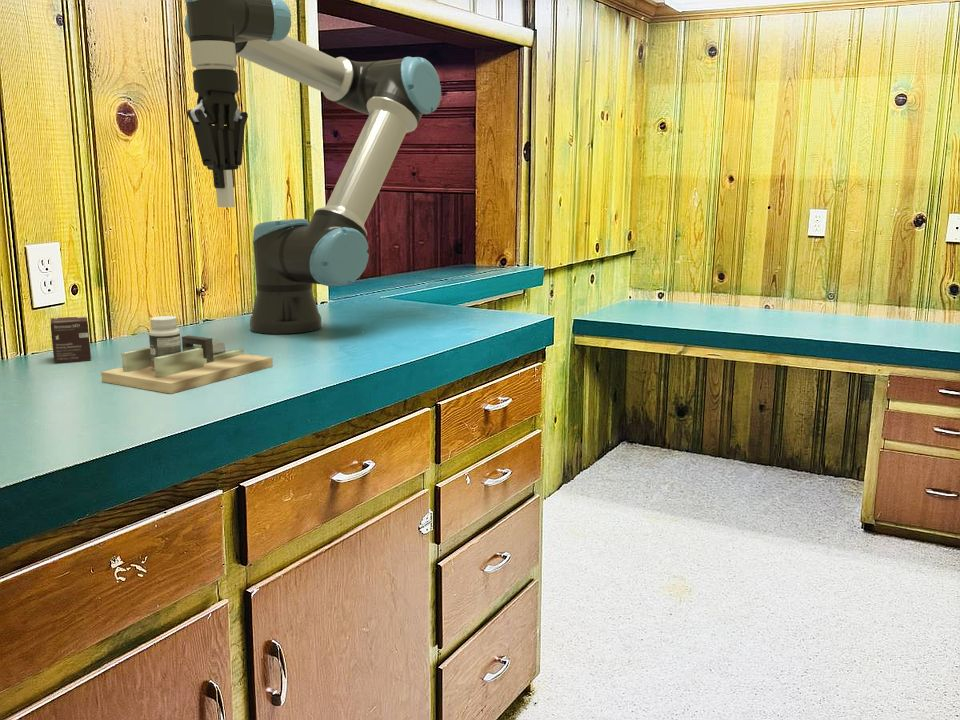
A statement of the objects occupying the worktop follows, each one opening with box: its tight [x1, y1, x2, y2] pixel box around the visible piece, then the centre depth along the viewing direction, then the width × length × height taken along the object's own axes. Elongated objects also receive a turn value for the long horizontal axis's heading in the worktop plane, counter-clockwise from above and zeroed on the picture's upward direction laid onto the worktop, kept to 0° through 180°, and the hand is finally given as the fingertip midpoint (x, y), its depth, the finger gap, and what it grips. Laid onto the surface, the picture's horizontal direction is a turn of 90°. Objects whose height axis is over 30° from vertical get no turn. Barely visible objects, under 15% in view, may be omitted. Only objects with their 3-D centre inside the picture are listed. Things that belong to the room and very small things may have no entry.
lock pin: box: [182, 340, 226, 355], centre depth 146 cm, size 7×2×2 cm, turn 150°
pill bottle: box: [148, 315, 182, 370], centre depth 139 cm, size 5×5×8 cm
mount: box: [100, 335, 274, 395], centre depth 142 cm, size 22×16×6 cm
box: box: [50, 316, 92, 364], centre depth 154 cm, size 6×6×7 cm
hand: (226, 206), depth 154 cm, fingers closed
